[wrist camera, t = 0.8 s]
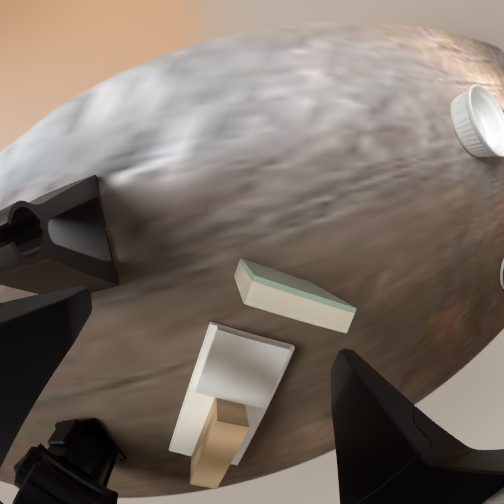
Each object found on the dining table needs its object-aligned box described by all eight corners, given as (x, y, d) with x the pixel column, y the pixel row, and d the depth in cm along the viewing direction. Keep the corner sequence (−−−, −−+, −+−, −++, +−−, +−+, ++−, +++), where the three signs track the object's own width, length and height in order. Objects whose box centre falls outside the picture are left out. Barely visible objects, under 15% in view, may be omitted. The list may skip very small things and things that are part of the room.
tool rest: (236, 461, 23) (237, 465, 23) (169, 446, 22) (168, 450, 22) (293, 344, 23) (295, 347, 22) (210, 321, 22) (210, 323, 21)
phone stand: (119, 284, 20) (36, 338, 9) (62, 297, 20) (-29, 345, 8) (97, 175, 20) (4, 135, 8) (42, 196, 19) (-57, 182, 7)
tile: (304, 299, 22) (346, 333, 14) (234, 276, 22) (243, 303, 14) (310, 281, 22) (356, 308, 14) (240, 257, 21) (254, 275, 14)
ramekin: (442, 134, 23) (469, 124, 19) (447, 81, 23) (469, 69, 19) (485, 174, 24) (509, 171, 20) (488, 122, 24) (509, 115, 20)
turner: (231, 464, 22) (234, 491, 19) (174, 452, 22) (170, 479, 18) (288, 345, 22) (302, 368, 18) (217, 325, 21) (218, 346, 17)
